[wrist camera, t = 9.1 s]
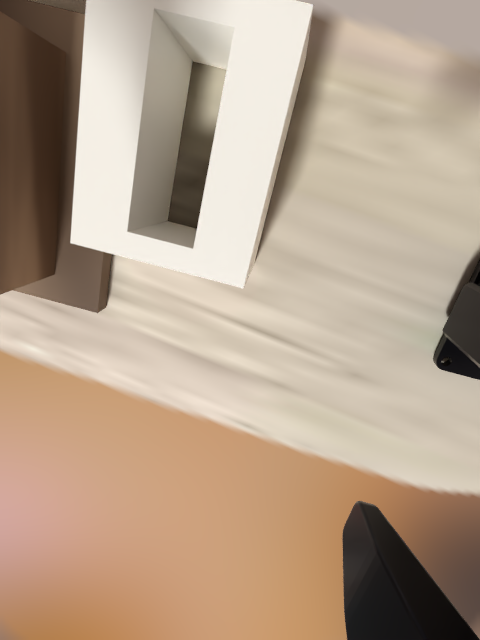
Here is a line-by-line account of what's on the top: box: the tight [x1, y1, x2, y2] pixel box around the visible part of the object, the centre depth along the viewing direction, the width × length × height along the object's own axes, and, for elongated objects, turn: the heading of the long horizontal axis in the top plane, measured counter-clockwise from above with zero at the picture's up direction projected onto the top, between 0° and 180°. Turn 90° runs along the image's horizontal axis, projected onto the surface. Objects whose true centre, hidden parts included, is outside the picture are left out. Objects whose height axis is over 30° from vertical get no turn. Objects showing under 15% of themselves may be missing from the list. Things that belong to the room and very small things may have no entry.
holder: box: [70, 0, 314, 288], centre depth 15 cm, size 7×9×5 cm
